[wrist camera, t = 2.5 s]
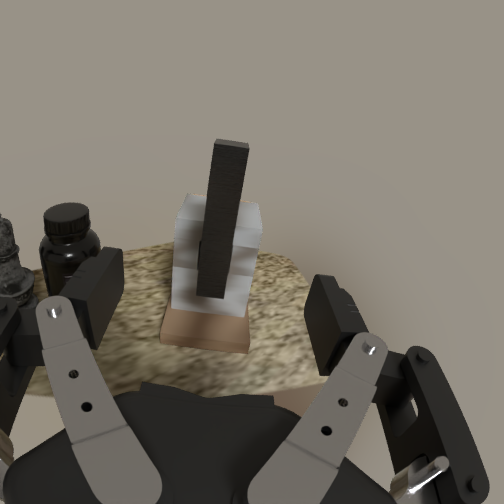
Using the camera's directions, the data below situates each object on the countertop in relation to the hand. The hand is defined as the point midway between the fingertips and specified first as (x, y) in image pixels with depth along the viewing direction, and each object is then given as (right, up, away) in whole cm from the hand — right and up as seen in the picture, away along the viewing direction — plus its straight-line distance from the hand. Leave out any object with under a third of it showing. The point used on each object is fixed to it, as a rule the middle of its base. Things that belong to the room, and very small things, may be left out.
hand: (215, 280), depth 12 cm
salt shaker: (-26, -5, +16) cm, 31 cm away
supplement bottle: (-18, -6, +18) cm, 26 cm away
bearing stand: (-4, -5, +24) cm, 25 cm away
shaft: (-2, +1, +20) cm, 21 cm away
